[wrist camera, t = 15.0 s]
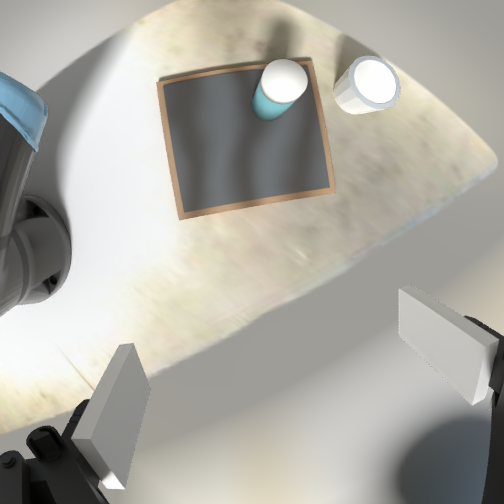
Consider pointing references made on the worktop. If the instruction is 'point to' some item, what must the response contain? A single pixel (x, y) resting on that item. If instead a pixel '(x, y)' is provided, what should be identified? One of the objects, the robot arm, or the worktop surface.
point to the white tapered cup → (367, 86)
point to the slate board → (241, 143)
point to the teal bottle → (278, 89)
